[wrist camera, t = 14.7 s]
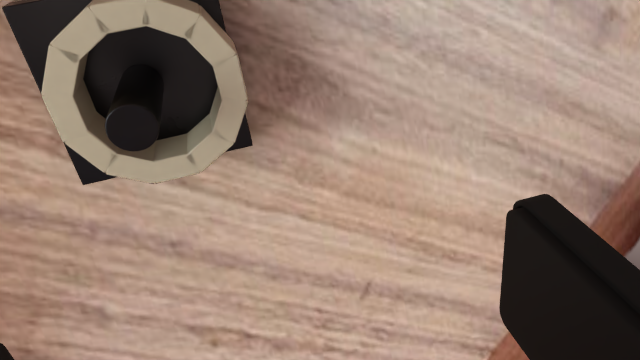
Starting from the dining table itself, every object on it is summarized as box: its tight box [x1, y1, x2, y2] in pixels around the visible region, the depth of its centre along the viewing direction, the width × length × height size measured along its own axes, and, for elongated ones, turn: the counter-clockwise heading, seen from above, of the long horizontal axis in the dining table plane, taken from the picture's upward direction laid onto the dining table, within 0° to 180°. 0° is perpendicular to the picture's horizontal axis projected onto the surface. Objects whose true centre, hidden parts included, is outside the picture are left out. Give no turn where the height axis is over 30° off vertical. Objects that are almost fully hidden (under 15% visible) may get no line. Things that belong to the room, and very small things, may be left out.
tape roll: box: [41, 0, 248, 184], centre depth 23 cm, size 8×8×2 cm
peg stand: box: [2, 0, 253, 185], centre depth 22 cm, size 9×9×7 cm
